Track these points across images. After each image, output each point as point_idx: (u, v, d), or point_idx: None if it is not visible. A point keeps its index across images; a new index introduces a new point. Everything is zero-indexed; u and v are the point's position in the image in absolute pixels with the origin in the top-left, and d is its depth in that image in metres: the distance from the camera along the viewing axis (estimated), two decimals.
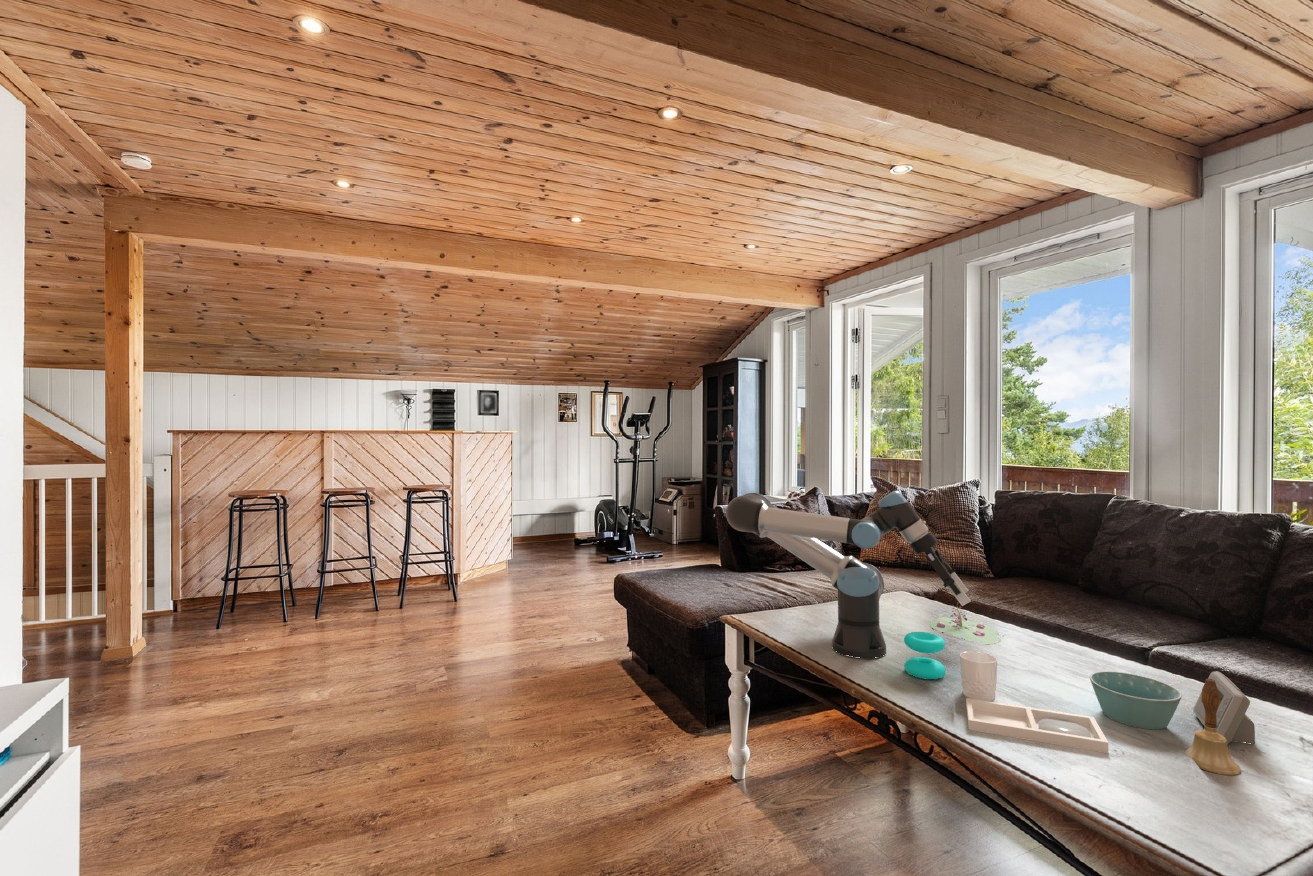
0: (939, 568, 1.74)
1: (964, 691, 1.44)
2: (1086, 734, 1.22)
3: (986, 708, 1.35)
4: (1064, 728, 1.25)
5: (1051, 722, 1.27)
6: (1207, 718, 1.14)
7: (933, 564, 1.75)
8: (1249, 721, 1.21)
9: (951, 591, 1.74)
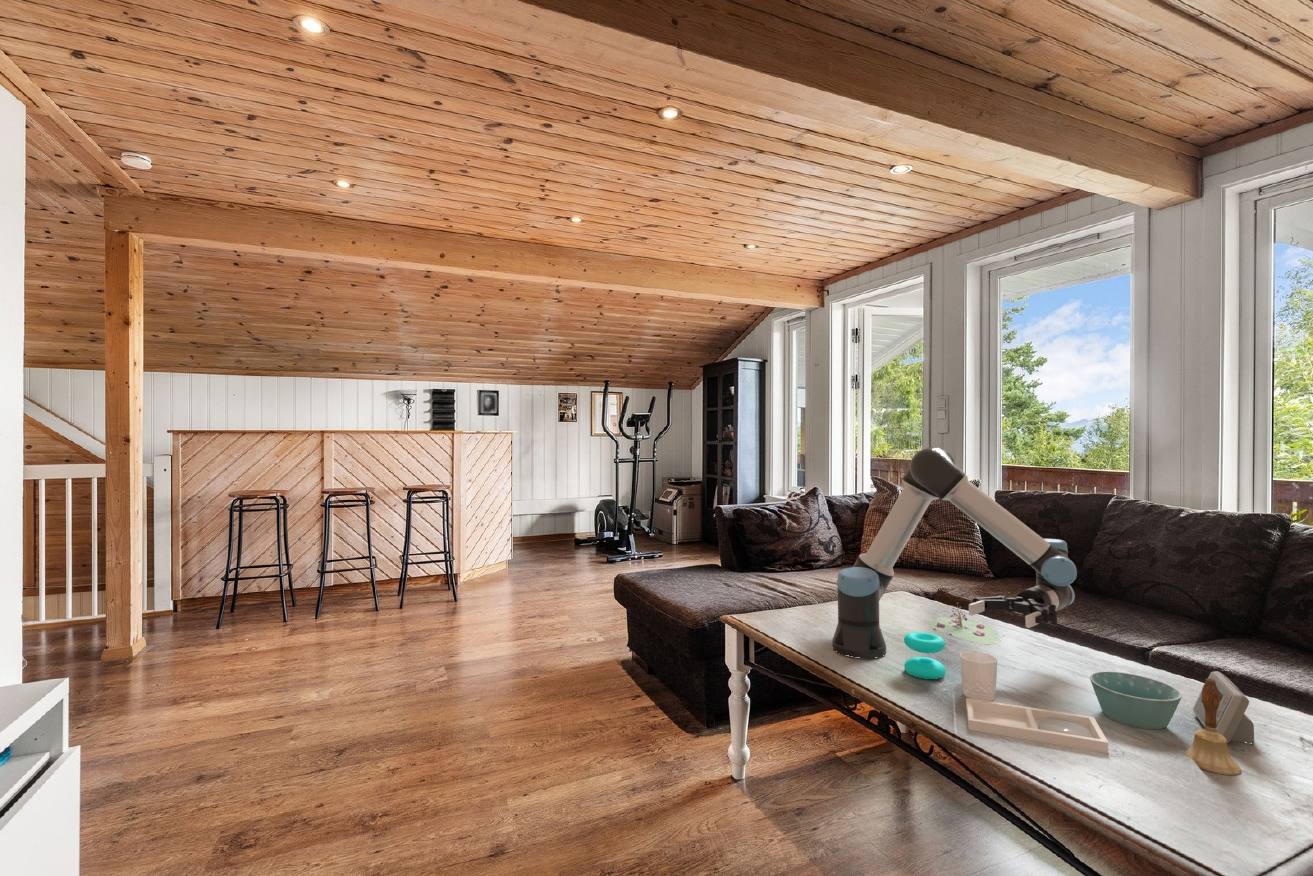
0: None
1: (964, 691, 1.44)
2: (1086, 734, 1.22)
3: (986, 708, 1.35)
4: (1064, 728, 1.25)
5: (1051, 722, 1.27)
6: (1207, 718, 1.14)
7: None
8: (1248, 721, 1.22)
9: (1037, 613, 1.47)
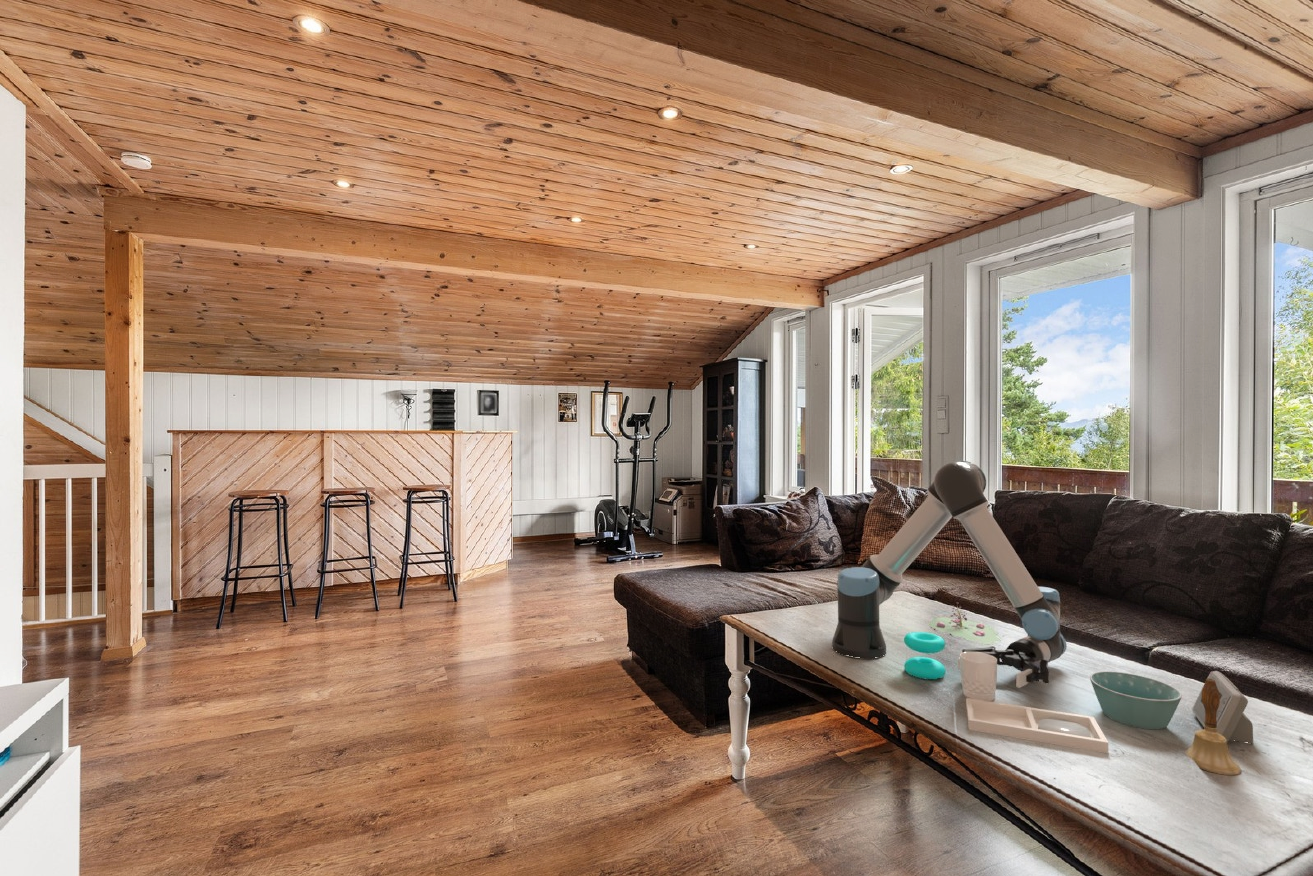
0: None
1: (964, 691, 1.44)
2: (1086, 733, 1.22)
3: (986, 708, 1.35)
4: (1064, 728, 1.25)
5: (1050, 722, 1.27)
6: (1207, 718, 1.14)
7: (1045, 666, 1.47)
8: (1247, 721, 1.22)
9: (1028, 671, 1.42)
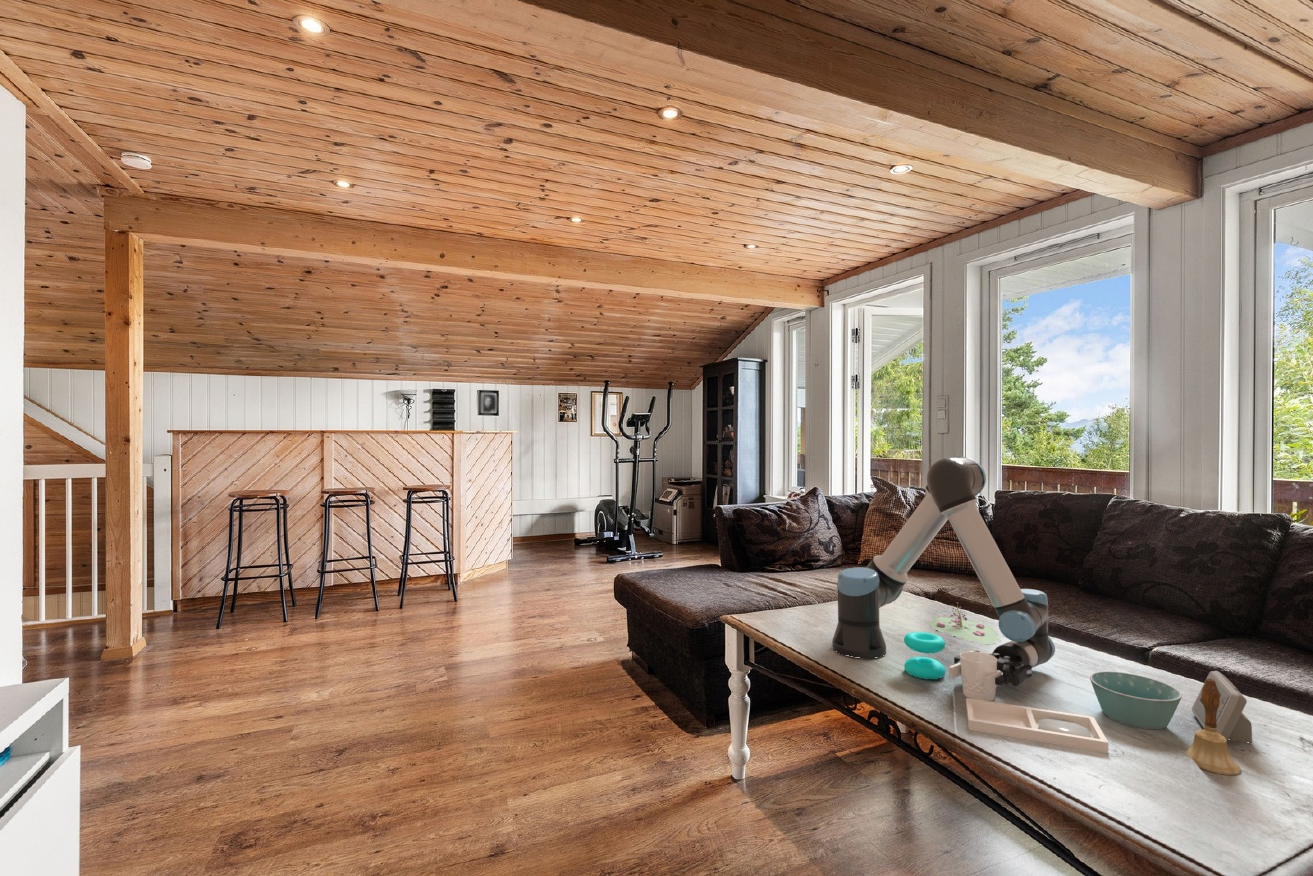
0: (1023, 676, 1.43)
1: (964, 691, 1.44)
2: (1086, 733, 1.22)
3: (986, 708, 1.35)
4: (1064, 728, 1.25)
5: (1050, 722, 1.27)
6: (1207, 718, 1.14)
7: (1025, 670, 1.44)
8: (1246, 720, 1.22)
9: (997, 674, 1.40)
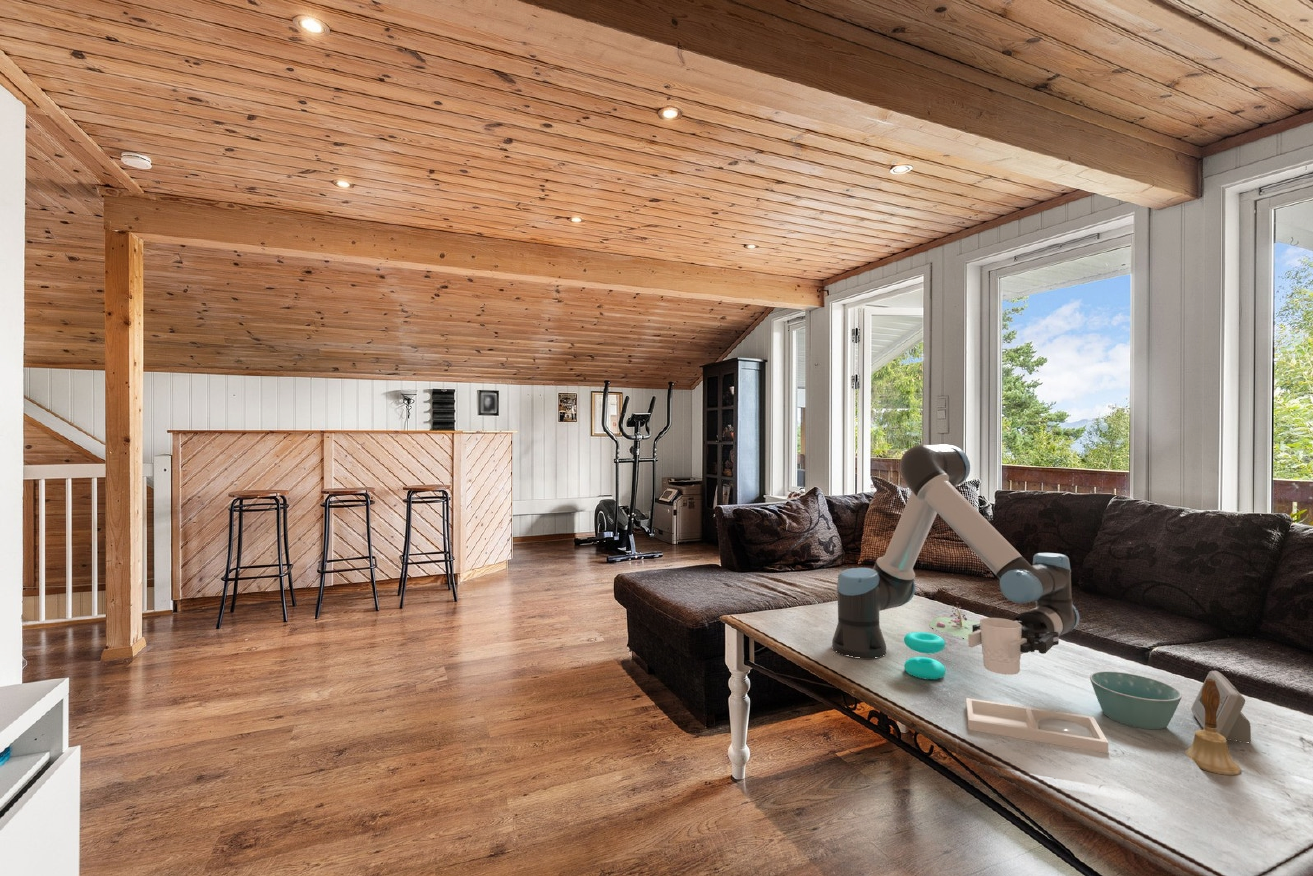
0: (1050, 643, 1.29)
1: (985, 660, 1.31)
2: (1086, 733, 1.23)
3: (986, 708, 1.35)
4: (1064, 728, 1.25)
5: (1050, 723, 1.27)
6: (1207, 718, 1.14)
7: (1052, 637, 1.31)
8: (1245, 720, 1.22)
9: (1023, 640, 1.27)
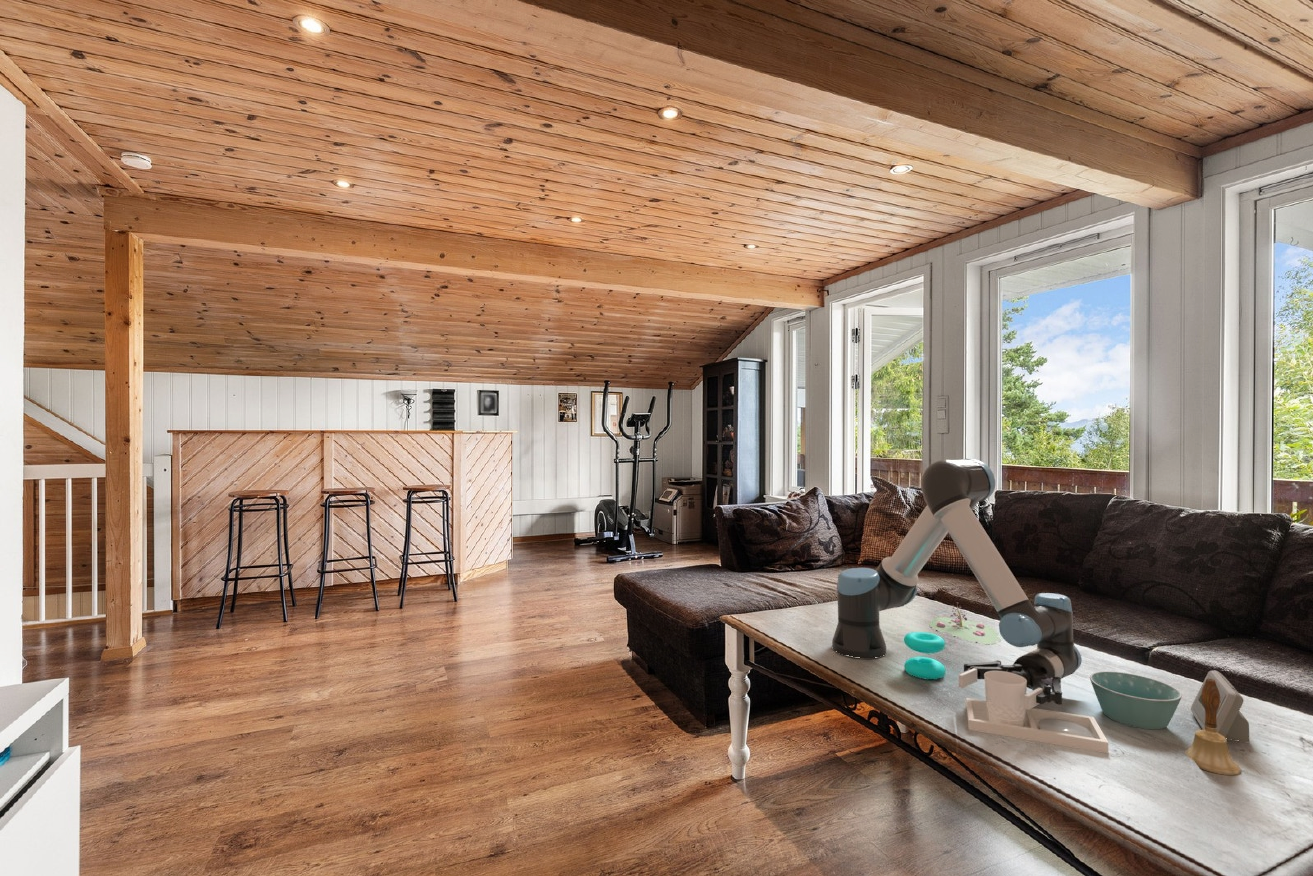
0: None
1: (989, 716, 1.29)
2: (1086, 732, 1.23)
3: (986, 708, 1.35)
4: (1064, 727, 1.25)
5: (1049, 723, 1.27)
6: (1207, 718, 1.14)
7: (1058, 684, 1.29)
8: (1243, 719, 1.22)
9: (1039, 691, 1.25)
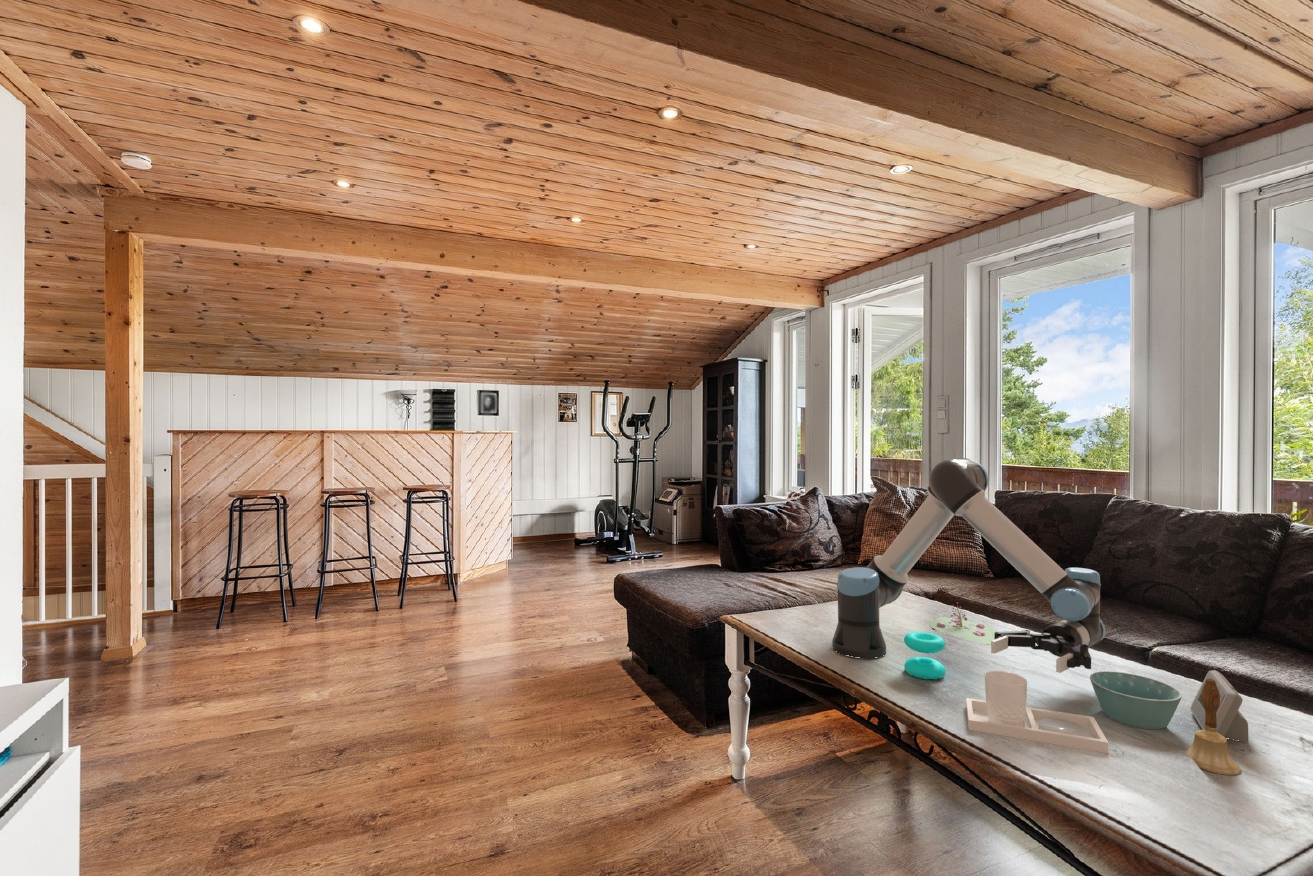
0: None
1: (990, 716, 1.29)
2: (1086, 732, 1.23)
3: (986, 708, 1.35)
4: (1064, 727, 1.25)
5: (1049, 723, 1.27)
6: (1207, 718, 1.14)
7: None
8: (1242, 719, 1.22)
9: (1069, 656, 1.32)
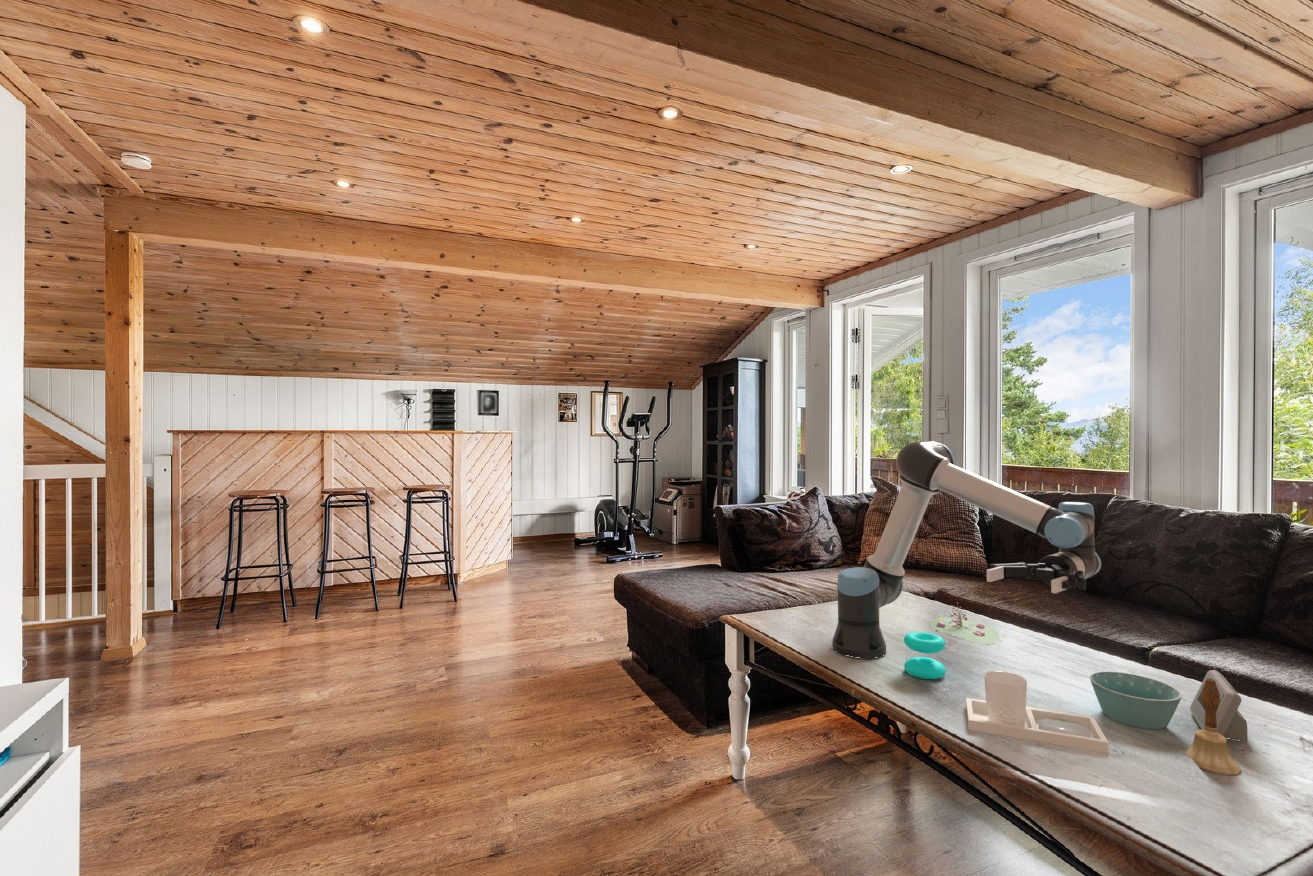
0: None
1: (989, 716, 1.29)
2: (1086, 732, 1.23)
3: (986, 708, 1.35)
4: (1064, 727, 1.25)
5: (1049, 723, 1.27)
6: (1207, 718, 1.14)
7: None
8: (1242, 719, 1.22)
9: (1064, 578, 1.32)
